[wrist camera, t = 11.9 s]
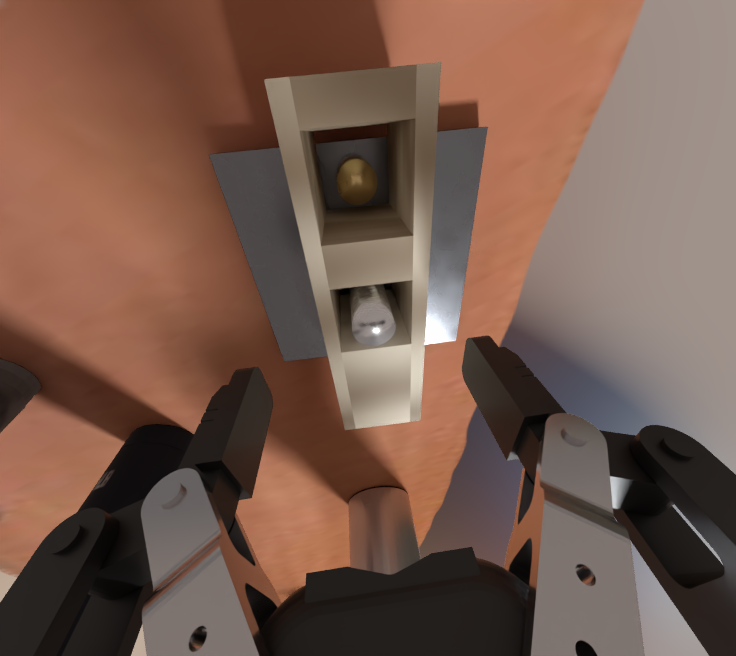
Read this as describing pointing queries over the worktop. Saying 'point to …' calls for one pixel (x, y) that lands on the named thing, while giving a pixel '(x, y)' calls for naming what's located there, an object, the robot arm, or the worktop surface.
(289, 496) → the worktop surface
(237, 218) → the mounting plate
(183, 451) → the wine bottle
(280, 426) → the worktop surface
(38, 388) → the grey tapered rounded cylinder
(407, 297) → the bar
